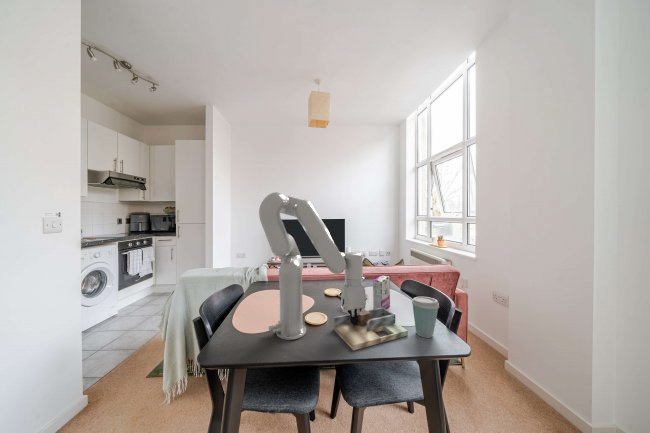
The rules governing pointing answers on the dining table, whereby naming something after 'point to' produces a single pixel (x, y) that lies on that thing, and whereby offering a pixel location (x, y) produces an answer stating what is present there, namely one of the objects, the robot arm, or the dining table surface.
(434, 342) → the dining table surface
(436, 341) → the dining table surface
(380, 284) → the candy bar box
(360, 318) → the walnut block
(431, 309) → the disposable coffee cup
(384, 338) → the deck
